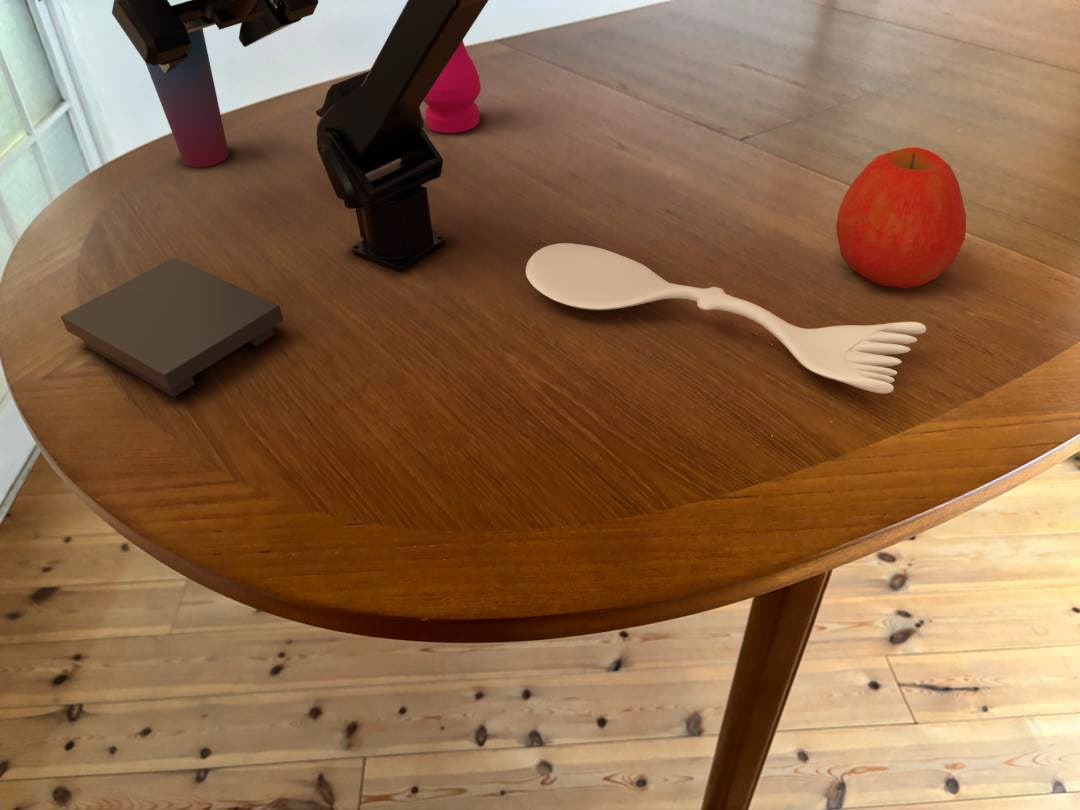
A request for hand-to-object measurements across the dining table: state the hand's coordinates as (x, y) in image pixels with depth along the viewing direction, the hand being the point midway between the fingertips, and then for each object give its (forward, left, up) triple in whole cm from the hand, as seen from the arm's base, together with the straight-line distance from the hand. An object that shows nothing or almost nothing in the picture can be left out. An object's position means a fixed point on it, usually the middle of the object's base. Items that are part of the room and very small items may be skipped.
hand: (204, 55), depth 92 cm
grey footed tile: (-22, +23, -13) cm, 35 cm away
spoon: (-57, -2, -13) cm, 58 cm away
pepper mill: (-12, -23, -13) cm, 29 cm away
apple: (-66, -19, -13) cm, 70 cm away
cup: (+6, -1, -13) cm, 14 cm away
